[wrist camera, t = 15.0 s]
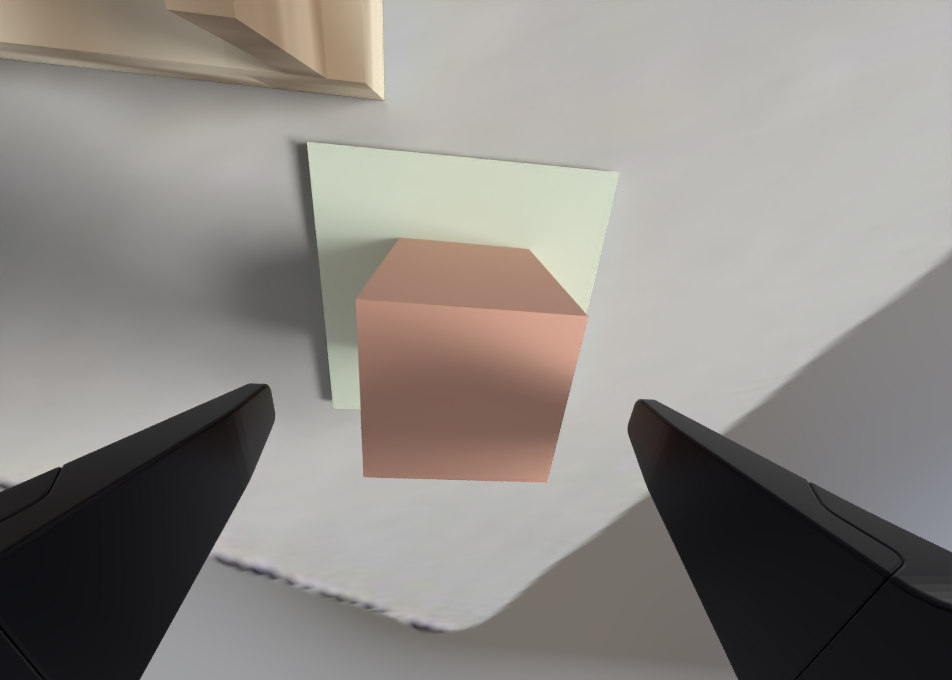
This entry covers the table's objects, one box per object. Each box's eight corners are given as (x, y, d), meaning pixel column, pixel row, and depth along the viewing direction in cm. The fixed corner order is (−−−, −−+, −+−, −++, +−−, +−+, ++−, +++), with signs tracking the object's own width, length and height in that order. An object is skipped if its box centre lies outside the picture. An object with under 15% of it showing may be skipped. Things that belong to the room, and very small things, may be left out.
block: (511, 360, 16) (547, 482, 10) (398, 353, 16) (363, 477, 10) (529, 248, 14) (588, 316, 8) (399, 237, 14) (355, 299, 8)
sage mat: (613, 172, 14) (619, 172, 13) (559, 409, 19) (562, 416, 18) (312, 142, 13) (307, 141, 12) (336, 401, 18) (333, 408, 17)
